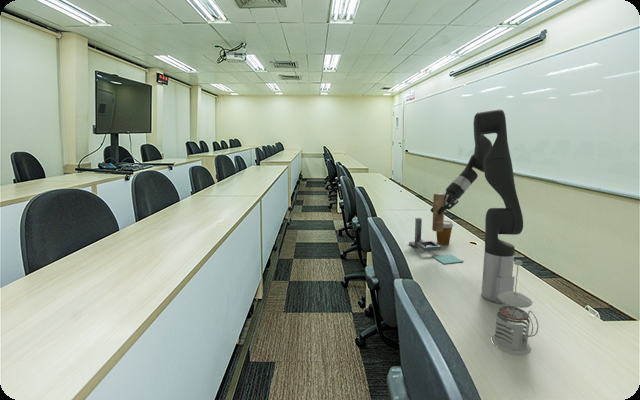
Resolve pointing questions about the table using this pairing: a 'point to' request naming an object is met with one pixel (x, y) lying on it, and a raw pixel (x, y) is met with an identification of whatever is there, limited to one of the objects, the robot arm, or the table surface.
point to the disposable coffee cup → (445, 233)
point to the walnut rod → (437, 219)
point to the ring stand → (419, 242)
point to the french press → (503, 334)
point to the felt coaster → (447, 259)
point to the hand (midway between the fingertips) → (435, 212)
